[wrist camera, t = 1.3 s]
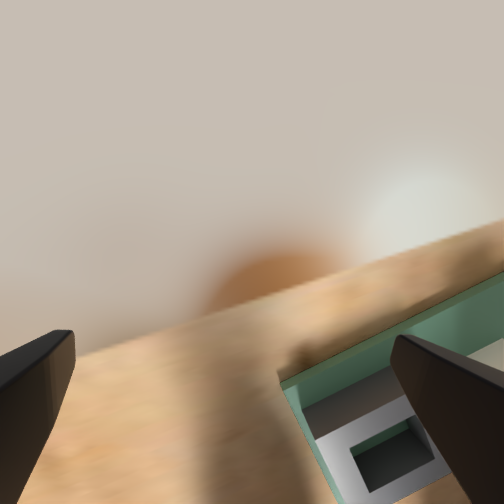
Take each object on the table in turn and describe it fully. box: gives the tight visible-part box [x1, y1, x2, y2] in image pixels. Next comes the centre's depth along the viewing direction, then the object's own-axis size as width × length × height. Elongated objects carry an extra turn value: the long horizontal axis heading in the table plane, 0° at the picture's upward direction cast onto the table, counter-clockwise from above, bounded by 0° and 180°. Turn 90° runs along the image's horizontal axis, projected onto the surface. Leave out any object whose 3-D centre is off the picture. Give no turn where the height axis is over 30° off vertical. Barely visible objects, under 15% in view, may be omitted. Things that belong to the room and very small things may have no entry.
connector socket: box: [302, 365, 452, 504], centre depth 24 cm, size 8×9×3 cm
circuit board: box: [280, 272, 504, 504], centre depth 26 cm, size 12×20×1 cm, turn 114°
